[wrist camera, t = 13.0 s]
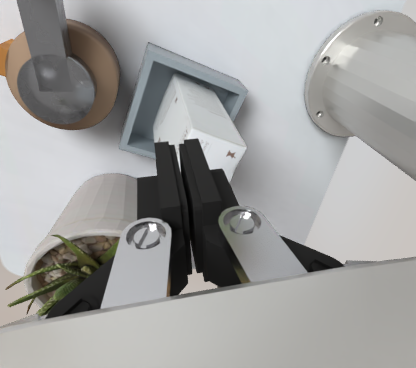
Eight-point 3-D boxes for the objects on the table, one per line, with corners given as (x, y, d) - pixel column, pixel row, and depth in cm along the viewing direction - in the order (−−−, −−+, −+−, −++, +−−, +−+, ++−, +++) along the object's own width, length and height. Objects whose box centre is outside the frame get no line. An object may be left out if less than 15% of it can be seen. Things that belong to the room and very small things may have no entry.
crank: (101, 114, 25) (92, 141, 21) (36, 114, 24) (13, 142, 20) (75, -58, 19) (56, -68, 15) (-14, -66, 18) (-60, -79, 14)
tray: (238, 80, 30) (248, 90, 27) (202, 157, 34) (208, 173, 31) (148, 42, 26) (148, 49, 23) (121, 133, 31) (118, 148, 28)
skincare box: (172, 70, 27) (188, 122, 18) (215, 88, 29) (251, 145, 19) (150, 128, 30) (153, 201, 20) (191, 142, 32) (212, 215, 22)
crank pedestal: (130, 42, 26) (128, 51, 23) (108, 123, 30) (104, 141, 27) (19, -3, 23) (-1, 0, 20) (10, 93, 27) (-8, 109, 24)
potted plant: (174, 149, 33) (202, 318, 16) (164, 240, 40) (178, 418, 24) (48, 142, 30) (-67, 337, 14) (63, 241, 37) (0, 444, 21)
